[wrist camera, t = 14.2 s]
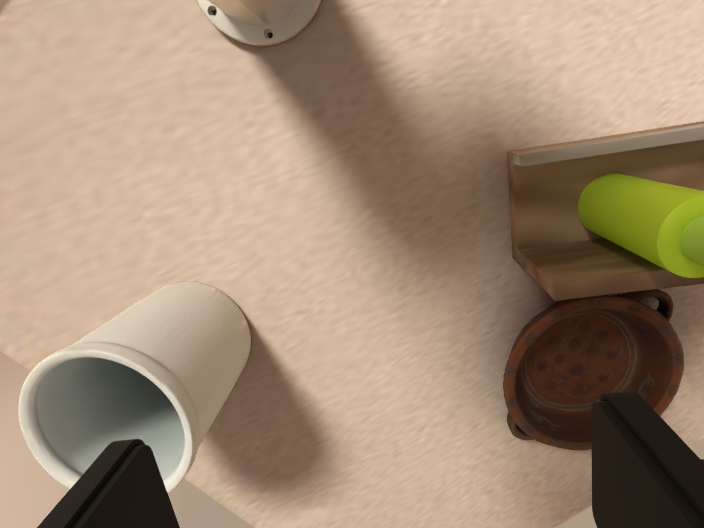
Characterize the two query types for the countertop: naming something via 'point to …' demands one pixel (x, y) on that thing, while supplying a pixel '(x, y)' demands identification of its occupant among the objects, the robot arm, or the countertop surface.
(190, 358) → the utensil holder
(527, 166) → the board
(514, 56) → the countertop surface
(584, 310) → the dish
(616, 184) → the soap dispenser
